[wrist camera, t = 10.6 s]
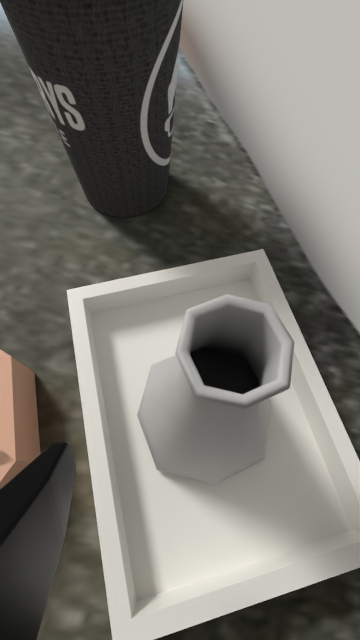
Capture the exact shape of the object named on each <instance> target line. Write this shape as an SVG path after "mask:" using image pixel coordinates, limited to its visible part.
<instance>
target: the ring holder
mask: <svg viewBox="0 0 360 640" xmlns="http://www.w3.org/2000/svg"><path fill="white" fill-rule="evenodd" d="M39 455H40V441H39V427H38V414H37V400H36V387H35V373H34V372H33V371H31V370H30V369H28V368H27V367H26V366H24V365H23V364H21V363H20V362H19V361H17V360H16V359H14V358H13V357H11V356H10V355H8V354H6V353H5V352H3V351H2V350H0V489H1V488H2V487H3V486H5V485H6V484H7V483H8V482H9V481H10V480H11V479H12V478H14V477H15V476H16V475H17V474H18V473H19V472H20V471H22V470H23V469H24V468H25V467H26V466H27V465H28V464H30V463H31V462H32V461H33V460H34V459H35V458H36V457H37V456H39Z"/></svg>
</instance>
